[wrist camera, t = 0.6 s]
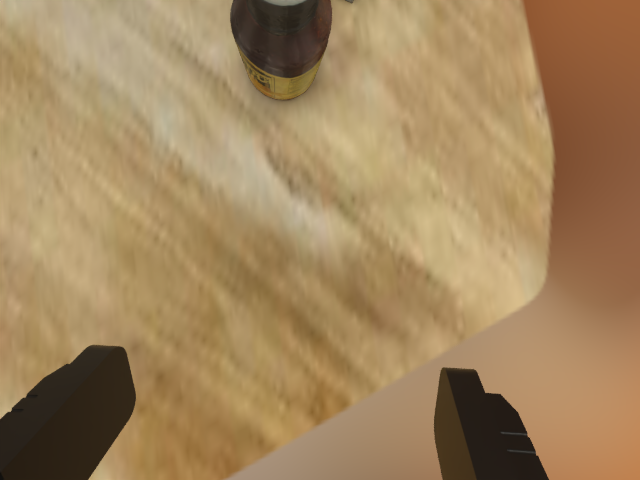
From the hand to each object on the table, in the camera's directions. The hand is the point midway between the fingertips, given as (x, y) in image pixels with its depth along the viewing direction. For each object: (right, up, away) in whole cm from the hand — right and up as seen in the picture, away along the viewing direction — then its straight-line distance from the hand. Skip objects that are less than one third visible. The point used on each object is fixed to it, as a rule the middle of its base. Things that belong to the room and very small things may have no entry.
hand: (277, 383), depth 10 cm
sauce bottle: (-2, +19, +26) cm, 32 cm away
